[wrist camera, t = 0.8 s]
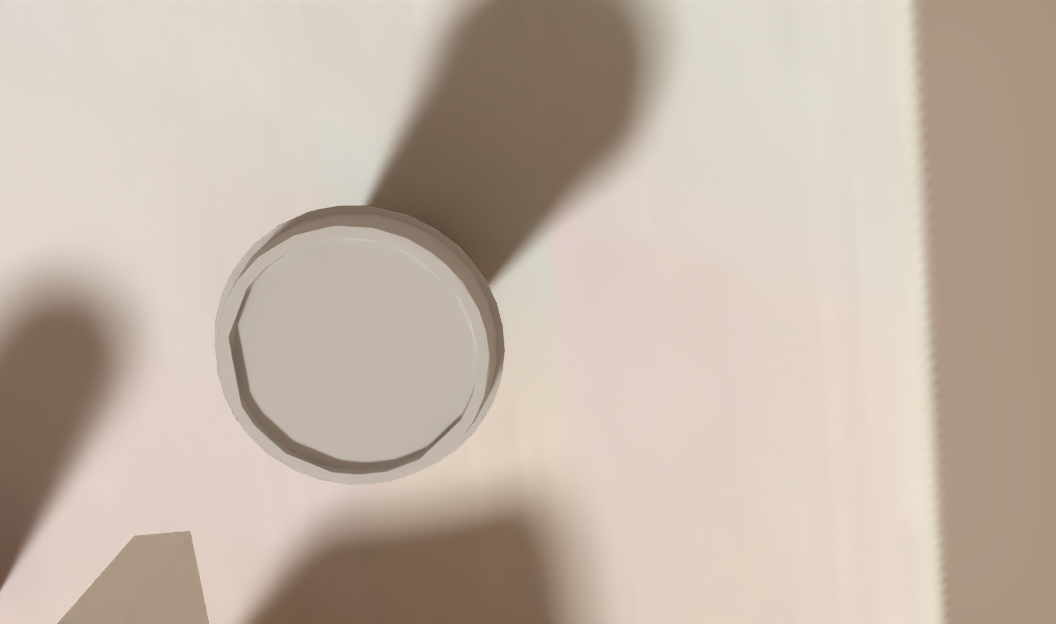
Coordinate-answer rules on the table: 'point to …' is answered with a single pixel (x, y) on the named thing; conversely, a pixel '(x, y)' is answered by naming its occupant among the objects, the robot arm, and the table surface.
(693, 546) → the table surface
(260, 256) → the disposable coffee cup
